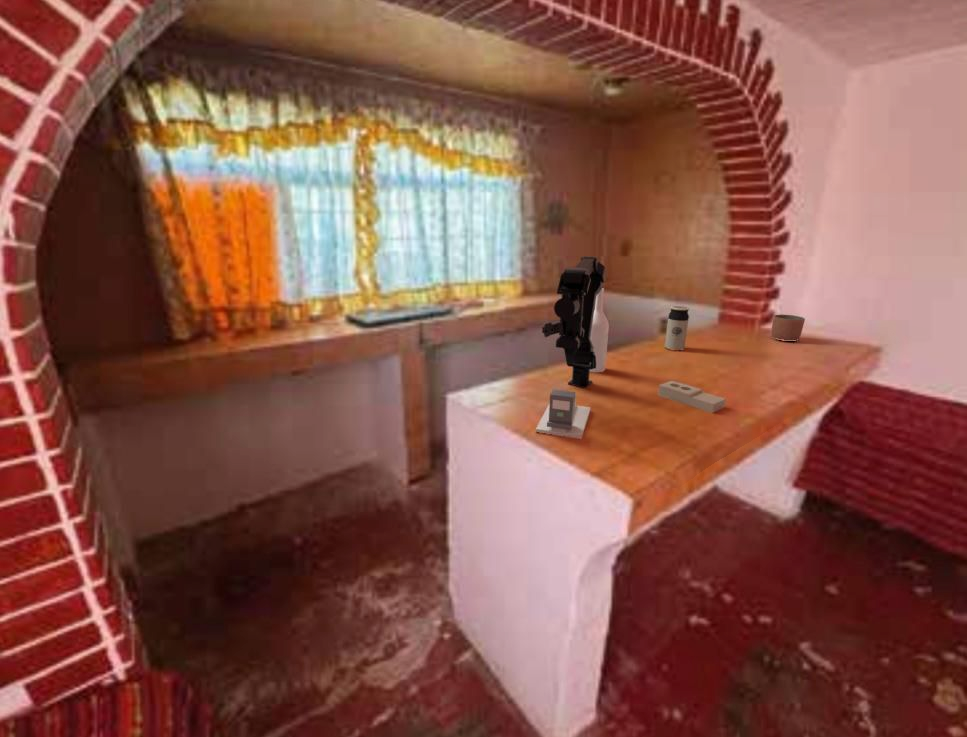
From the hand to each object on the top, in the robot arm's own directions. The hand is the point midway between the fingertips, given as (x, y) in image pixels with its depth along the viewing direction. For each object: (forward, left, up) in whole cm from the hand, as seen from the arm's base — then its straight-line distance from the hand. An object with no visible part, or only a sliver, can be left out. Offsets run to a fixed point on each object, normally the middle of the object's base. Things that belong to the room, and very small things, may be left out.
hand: (568, 364), depth 145 cm
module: (+20, +7, -10) cm, 23 cm away
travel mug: (-84, +13, -12) cm, 86 cm away
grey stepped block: (-23, +31, -13) cm, 41 cm away
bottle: (-36, -5, -12) cm, 39 cm away
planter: (-130, +52, -12) cm, 141 cm away
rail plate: (+14, +5, -12) cm, 19 cm away
